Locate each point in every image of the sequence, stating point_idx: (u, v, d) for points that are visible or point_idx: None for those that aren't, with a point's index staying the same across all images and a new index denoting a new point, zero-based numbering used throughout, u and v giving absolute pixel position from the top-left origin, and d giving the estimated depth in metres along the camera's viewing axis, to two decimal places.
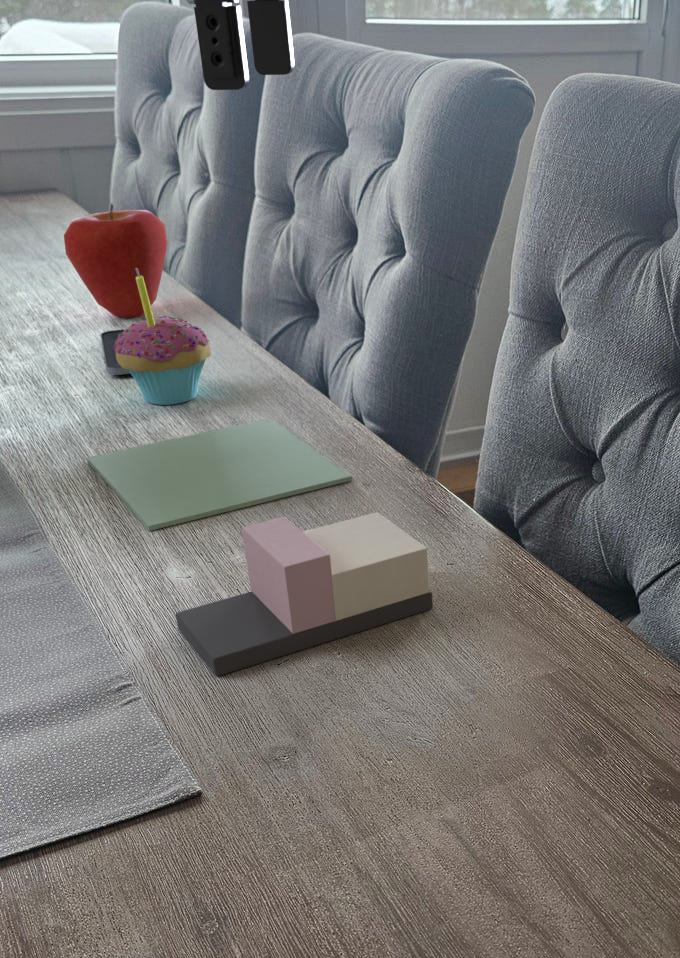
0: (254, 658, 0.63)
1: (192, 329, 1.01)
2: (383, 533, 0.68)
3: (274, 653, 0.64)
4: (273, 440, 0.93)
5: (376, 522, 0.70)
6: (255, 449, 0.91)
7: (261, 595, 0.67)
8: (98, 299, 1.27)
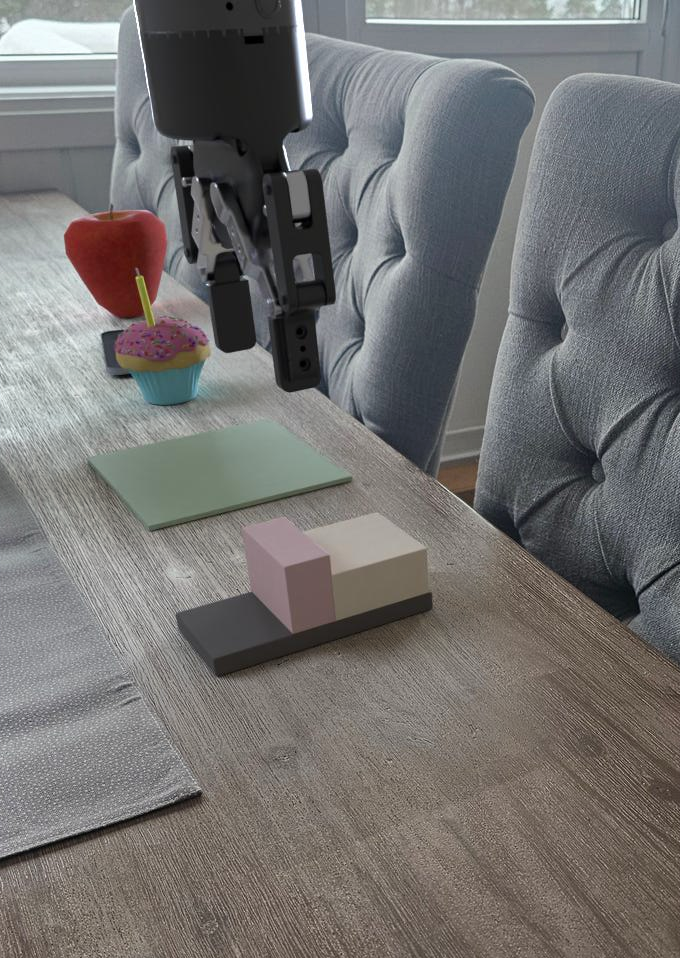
0: (254, 658, 0.63)
1: (192, 329, 1.01)
2: (383, 533, 0.68)
3: (274, 653, 0.64)
4: (273, 440, 0.93)
5: (376, 522, 0.70)
6: (255, 449, 0.91)
7: (261, 595, 0.67)
8: (98, 299, 1.27)
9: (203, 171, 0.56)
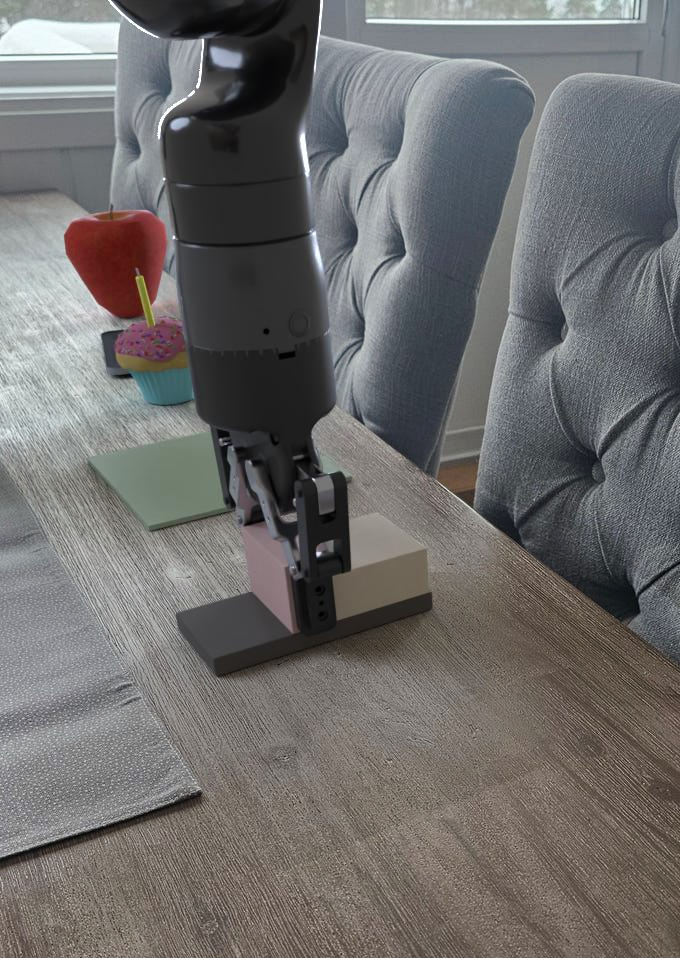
0: (254, 658, 0.63)
1: None
2: (383, 533, 0.68)
3: (274, 653, 0.64)
4: None
5: (376, 522, 0.70)
6: None
7: (261, 595, 0.67)
8: (98, 299, 1.27)
9: (238, 437, 0.63)
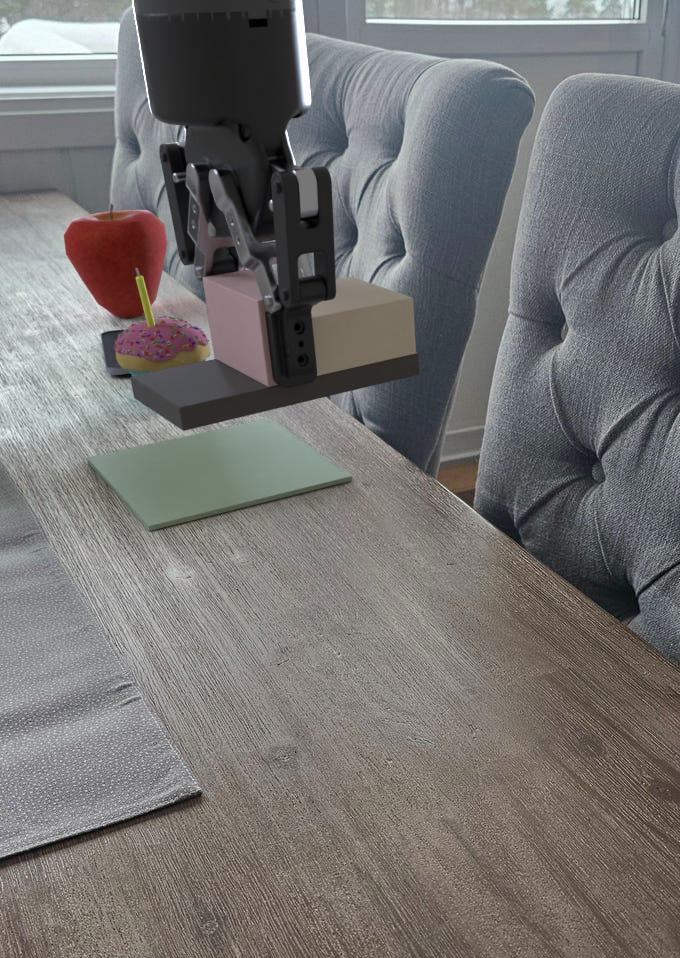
0: (225, 412, 0.56)
1: (192, 329, 1.01)
2: (361, 289, 0.61)
3: (247, 408, 0.57)
4: (273, 440, 0.93)
5: (352, 282, 0.63)
6: (255, 449, 0.91)
7: (227, 356, 0.60)
8: (98, 299, 1.27)
9: (197, 158, 0.55)
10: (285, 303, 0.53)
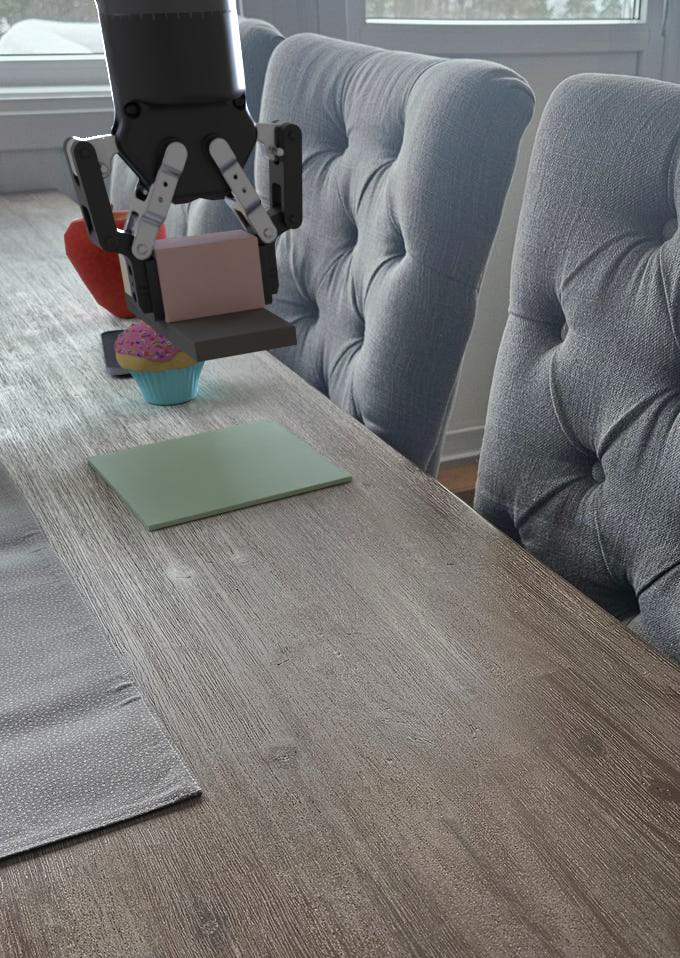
0: None
1: None
2: None
3: None
4: (273, 440, 0.93)
5: None
6: (255, 449, 0.91)
7: (196, 309, 0.69)
8: (98, 299, 1.27)
9: (153, 140, 0.64)
10: (293, 226, 0.70)
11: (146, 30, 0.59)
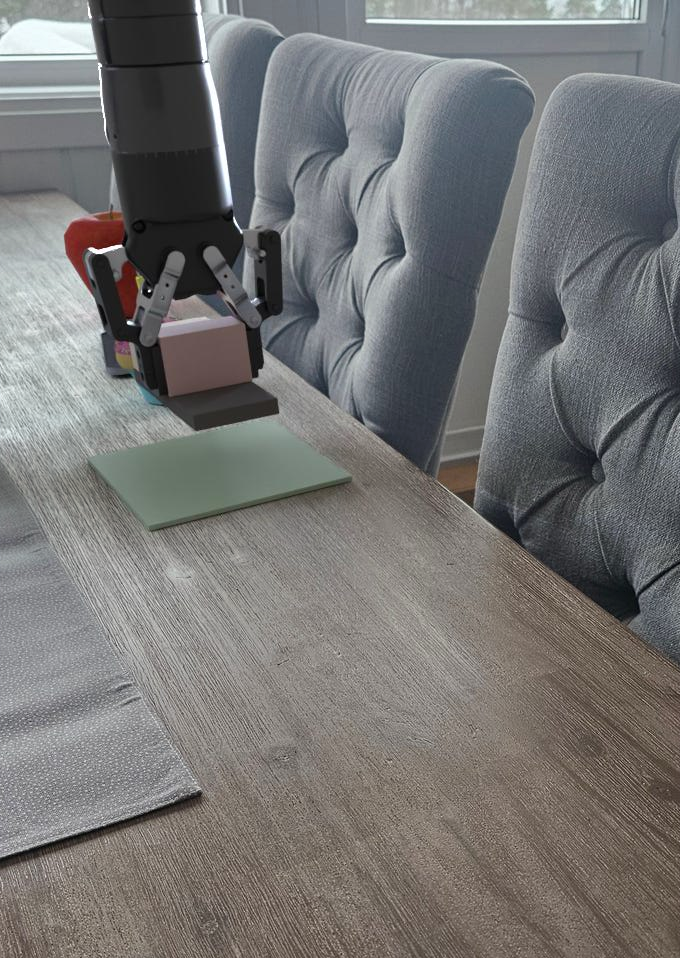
0: None
1: None
2: (169, 326, 0.87)
3: None
4: (273, 440, 0.93)
5: None
6: (255, 449, 0.91)
7: (194, 385, 0.82)
8: None
9: (157, 250, 0.77)
10: (275, 313, 0.83)
11: (150, 165, 0.73)
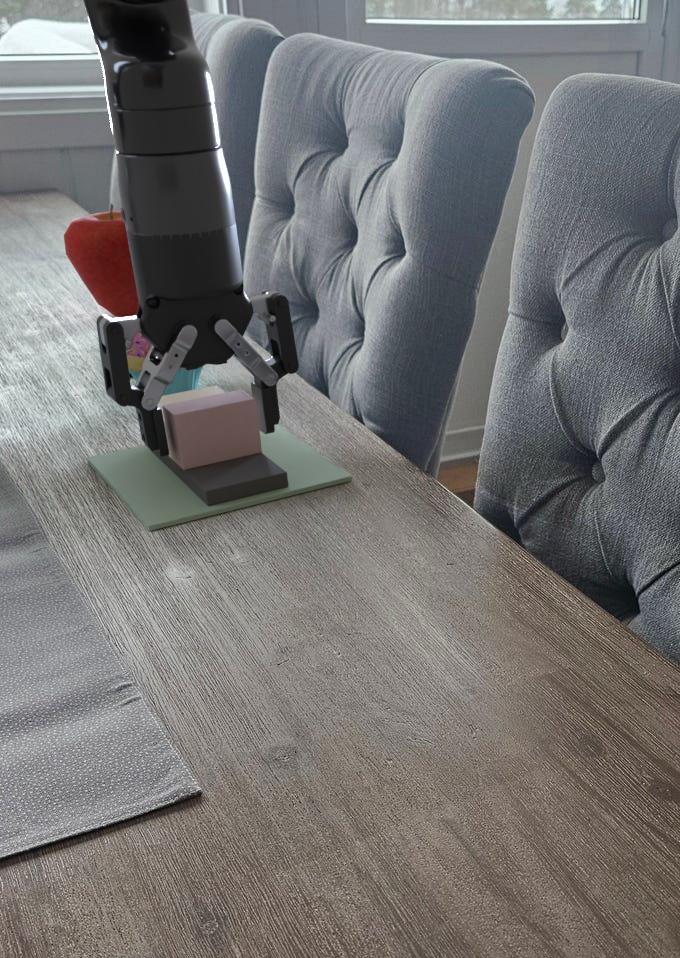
0: None
1: None
2: (181, 396, 0.90)
3: None
4: (273, 440, 0.93)
5: (160, 399, 0.90)
6: None
7: (206, 458, 0.85)
8: (98, 299, 1.27)
9: (170, 324, 0.80)
10: (291, 371, 0.86)
11: (165, 247, 0.75)
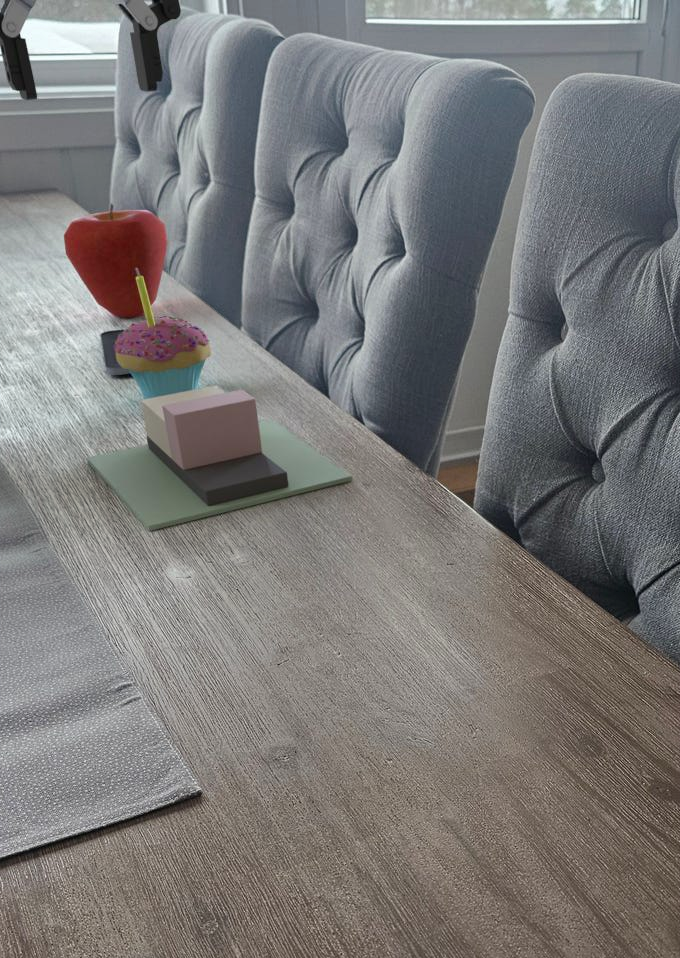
0: None
1: (192, 329, 1.01)
2: (181, 396, 0.90)
3: None
4: (273, 440, 0.93)
5: (160, 399, 0.90)
6: None
7: (206, 458, 0.85)
8: (98, 299, 1.27)
9: None
10: (172, 16, 0.80)
11: None
